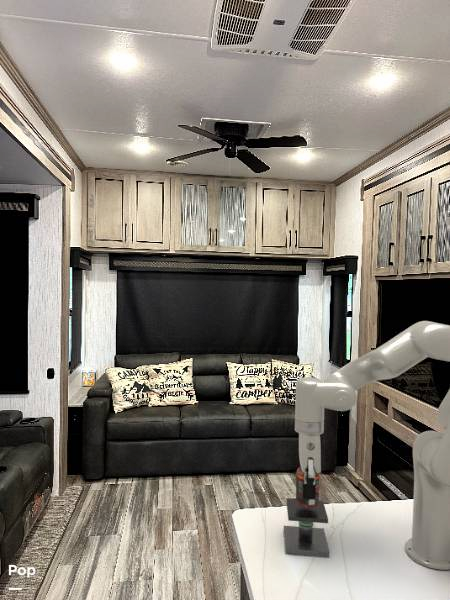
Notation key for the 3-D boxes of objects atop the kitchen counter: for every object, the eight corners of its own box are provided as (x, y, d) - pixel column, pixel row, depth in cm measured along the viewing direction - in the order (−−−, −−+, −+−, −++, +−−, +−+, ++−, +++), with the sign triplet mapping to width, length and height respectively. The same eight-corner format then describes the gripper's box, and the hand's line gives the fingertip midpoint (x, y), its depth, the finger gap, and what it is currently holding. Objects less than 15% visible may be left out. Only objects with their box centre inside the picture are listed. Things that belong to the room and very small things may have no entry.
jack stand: (323, 533, 122) (324, 499, 122) (329, 557, 112) (330, 520, 111) (283, 530, 123) (284, 497, 123) (285, 554, 112) (286, 517, 112)
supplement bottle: (318, 510, 114) (319, 466, 113) (295, 507, 115) (296, 464, 115) (318, 499, 119) (319, 458, 119) (296, 497, 121) (297, 456, 120)
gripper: (328, 436, 108) (326, 509, 108) (319, 416, 125) (317, 479, 125) (297, 435, 108) (295, 508, 109) (292, 415, 126) (291, 478, 126)
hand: (307, 492), depth 117 cm, fingers closed on supplement bottle, 5 cm apart
